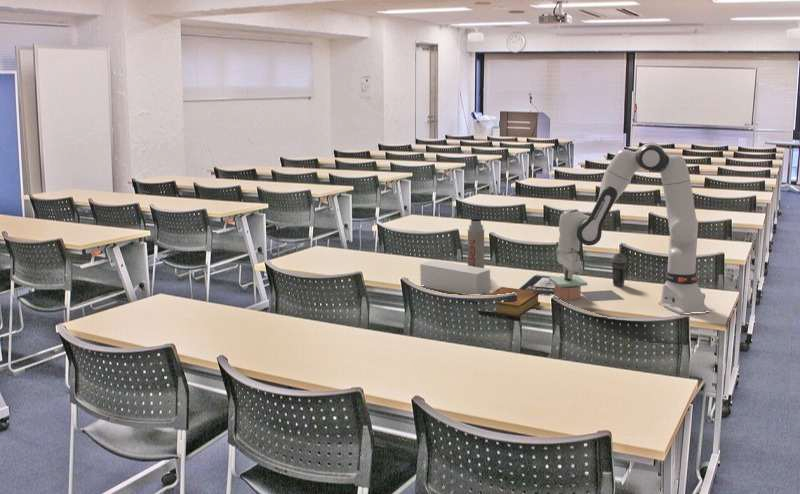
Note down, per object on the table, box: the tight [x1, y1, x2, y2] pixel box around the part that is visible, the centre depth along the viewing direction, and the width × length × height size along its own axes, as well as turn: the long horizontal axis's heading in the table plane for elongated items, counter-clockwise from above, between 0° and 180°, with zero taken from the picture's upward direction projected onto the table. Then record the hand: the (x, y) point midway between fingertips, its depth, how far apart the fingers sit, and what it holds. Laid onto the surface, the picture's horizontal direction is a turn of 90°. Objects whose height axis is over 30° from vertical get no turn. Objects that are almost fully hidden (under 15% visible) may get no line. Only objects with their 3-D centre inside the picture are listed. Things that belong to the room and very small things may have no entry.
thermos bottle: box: [467, 217, 485, 268], centre depth 403 cm, size 8×8×28 cm
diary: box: [488, 286, 541, 318], centre depth 349 cm, size 23×19×6 cm
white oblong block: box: [419, 259, 491, 295], centre depth 379 cm, size 32×11×11 cm, turn 50°
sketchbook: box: [518, 274, 558, 297], centre depth 381 cm, size 22×30×2 cm
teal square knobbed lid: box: [549, 270, 588, 287], centre depth 360 cm, size 13×13×5 cm
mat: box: [581, 290, 625, 302], centre depth 362 cm, size 15×15×1 cm
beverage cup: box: [611, 244, 628, 287], centre depth 377 cm, size 7×7×20 cm
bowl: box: [553, 285, 582, 301], centre depth 362 cm, size 11×11×6 cm
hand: (568, 277), depth 360 cm, fingers closed on teal square knobbed lid, 3 cm apart
